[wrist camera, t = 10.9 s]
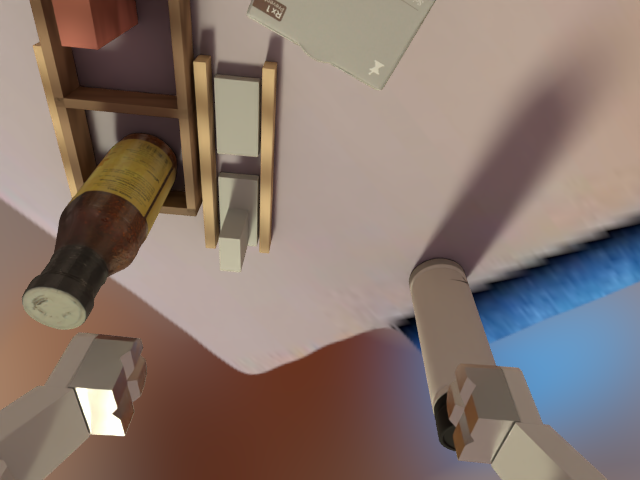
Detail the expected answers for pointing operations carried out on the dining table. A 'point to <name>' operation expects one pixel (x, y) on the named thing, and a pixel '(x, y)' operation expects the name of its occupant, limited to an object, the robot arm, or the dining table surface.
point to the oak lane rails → (204, 144)
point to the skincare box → (347, 31)
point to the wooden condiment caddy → (71, 99)
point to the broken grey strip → (235, 189)
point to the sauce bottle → (102, 229)
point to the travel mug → (446, 332)
